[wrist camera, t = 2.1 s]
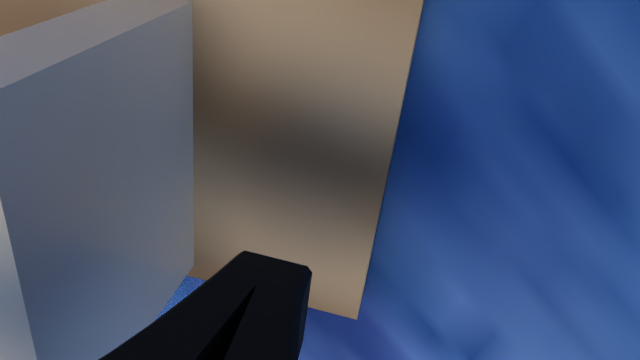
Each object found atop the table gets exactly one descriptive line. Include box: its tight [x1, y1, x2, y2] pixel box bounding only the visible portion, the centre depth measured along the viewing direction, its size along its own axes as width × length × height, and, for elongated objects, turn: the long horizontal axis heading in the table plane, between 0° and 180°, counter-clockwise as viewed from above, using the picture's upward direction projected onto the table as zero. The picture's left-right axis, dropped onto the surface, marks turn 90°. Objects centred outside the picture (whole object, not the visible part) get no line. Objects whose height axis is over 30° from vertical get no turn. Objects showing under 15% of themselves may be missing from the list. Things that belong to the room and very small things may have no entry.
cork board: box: [0, 0, 425, 320], centre depth 15 cm, size 12×15×1 cm
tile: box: [0, 0, 194, 360], centre depth 12 cm, size 8×2×6 cm, turn 174°
